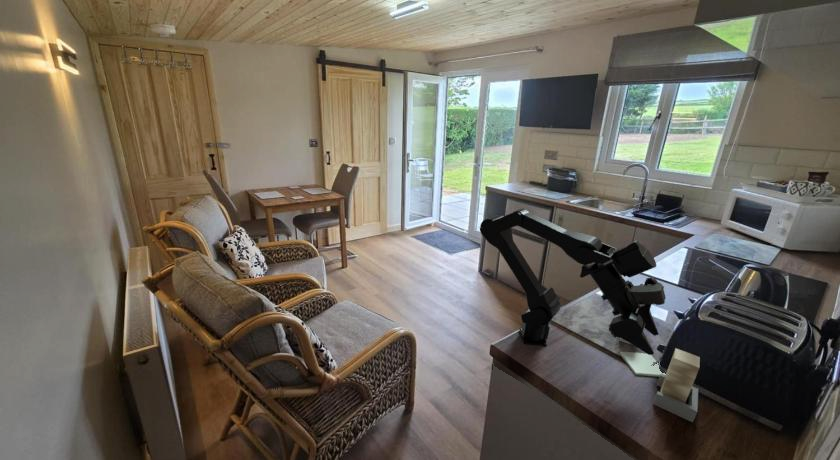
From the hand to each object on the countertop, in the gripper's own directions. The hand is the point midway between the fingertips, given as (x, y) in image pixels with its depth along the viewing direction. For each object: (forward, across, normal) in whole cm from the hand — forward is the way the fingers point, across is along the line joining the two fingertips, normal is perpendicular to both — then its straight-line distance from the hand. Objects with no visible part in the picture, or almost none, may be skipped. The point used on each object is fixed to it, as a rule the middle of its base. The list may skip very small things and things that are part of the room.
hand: (654, 344), depth 77 cm
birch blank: (+13, 0, +4) cm, 14 cm away
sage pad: (+8, +9, +9) cm, 15 cm away
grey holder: (+13, 0, +4) cm, 14 cm away
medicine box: (+5, +20, +13) cm, 25 cm away
